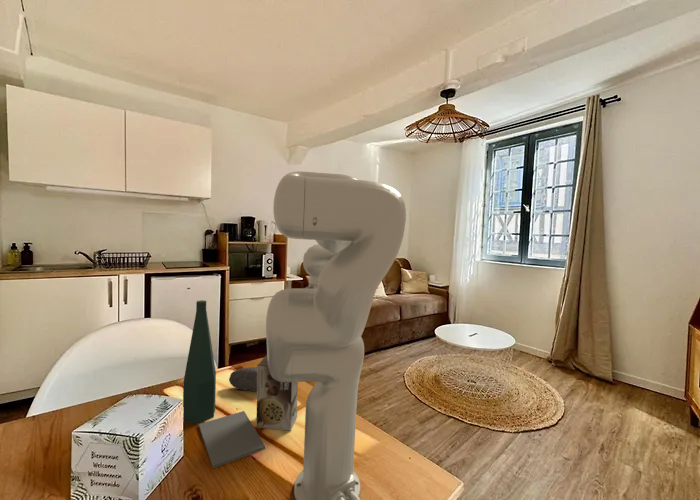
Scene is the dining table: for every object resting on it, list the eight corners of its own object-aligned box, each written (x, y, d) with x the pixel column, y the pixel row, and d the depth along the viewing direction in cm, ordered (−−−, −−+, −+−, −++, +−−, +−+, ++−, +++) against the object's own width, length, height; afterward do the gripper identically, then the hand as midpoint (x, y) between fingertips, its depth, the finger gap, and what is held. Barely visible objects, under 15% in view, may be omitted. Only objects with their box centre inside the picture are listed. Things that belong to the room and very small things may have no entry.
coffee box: (297, 416, 83) (299, 357, 82) (290, 431, 77) (293, 367, 76) (264, 412, 84) (266, 354, 83) (254, 427, 78) (256, 364, 77)
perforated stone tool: (225, 391, 94) (225, 369, 93) (233, 383, 99) (233, 361, 99) (274, 396, 93) (275, 373, 92) (279, 387, 98) (280, 365, 98)
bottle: (213, 403, 87) (215, 297, 85) (218, 418, 81) (221, 303, 79) (181, 411, 83) (182, 299, 81) (183, 427, 76) (185, 306, 75)
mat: (265, 448, 71) (265, 446, 71) (213, 468, 64) (213, 465, 64) (244, 413, 84) (244, 410, 84) (198, 426, 77) (198, 424, 77)
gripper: (304, 295, 78) (301, 366, 80) (353, 290, 87) (349, 354, 88) (291, 289, 84) (289, 355, 86) (338, 285, 93) (335, 345, 94)
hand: (320, 354), depth 87 cm, fingers closed
